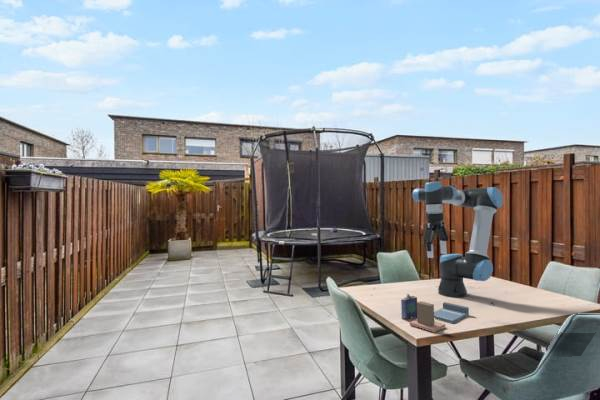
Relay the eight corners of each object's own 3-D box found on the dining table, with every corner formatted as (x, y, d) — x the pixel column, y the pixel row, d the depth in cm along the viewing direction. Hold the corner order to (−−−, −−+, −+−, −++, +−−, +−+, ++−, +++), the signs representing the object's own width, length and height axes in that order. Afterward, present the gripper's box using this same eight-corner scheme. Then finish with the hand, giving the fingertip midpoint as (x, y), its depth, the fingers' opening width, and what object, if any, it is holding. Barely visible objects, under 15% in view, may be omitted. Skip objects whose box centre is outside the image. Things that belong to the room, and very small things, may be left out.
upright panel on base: (409, 325, 130) (408, 302, 131) (420, 320, 136) (420, 298, 136) (434, 332, 122) (433, 308, 122) (445, 326, 127) (444, 303, 128)
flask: (404, 320, 137) (403, 296, 138) (399, 318, 140) (398, 294, 140) (419, 316, 141) (418, 293, 142) (414, 314, 144) (413, 291, 145)
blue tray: (428, 317, 140) (428, 309, 140) (445, 309, 150) (445, 302, 150) (452, 323, 132) (452, 315, 132) (468, 315, 142) (468, 307, 142)
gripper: (429, 214, 139) (432, 260, 139) (453, 211, 155) (456, 252, 155) (414, 214, 145) (417, 258, 145) (439, 211, 161) (441, 251, 161)
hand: (437, 255), depth 150 cm, fingers open, 13 cm apart
